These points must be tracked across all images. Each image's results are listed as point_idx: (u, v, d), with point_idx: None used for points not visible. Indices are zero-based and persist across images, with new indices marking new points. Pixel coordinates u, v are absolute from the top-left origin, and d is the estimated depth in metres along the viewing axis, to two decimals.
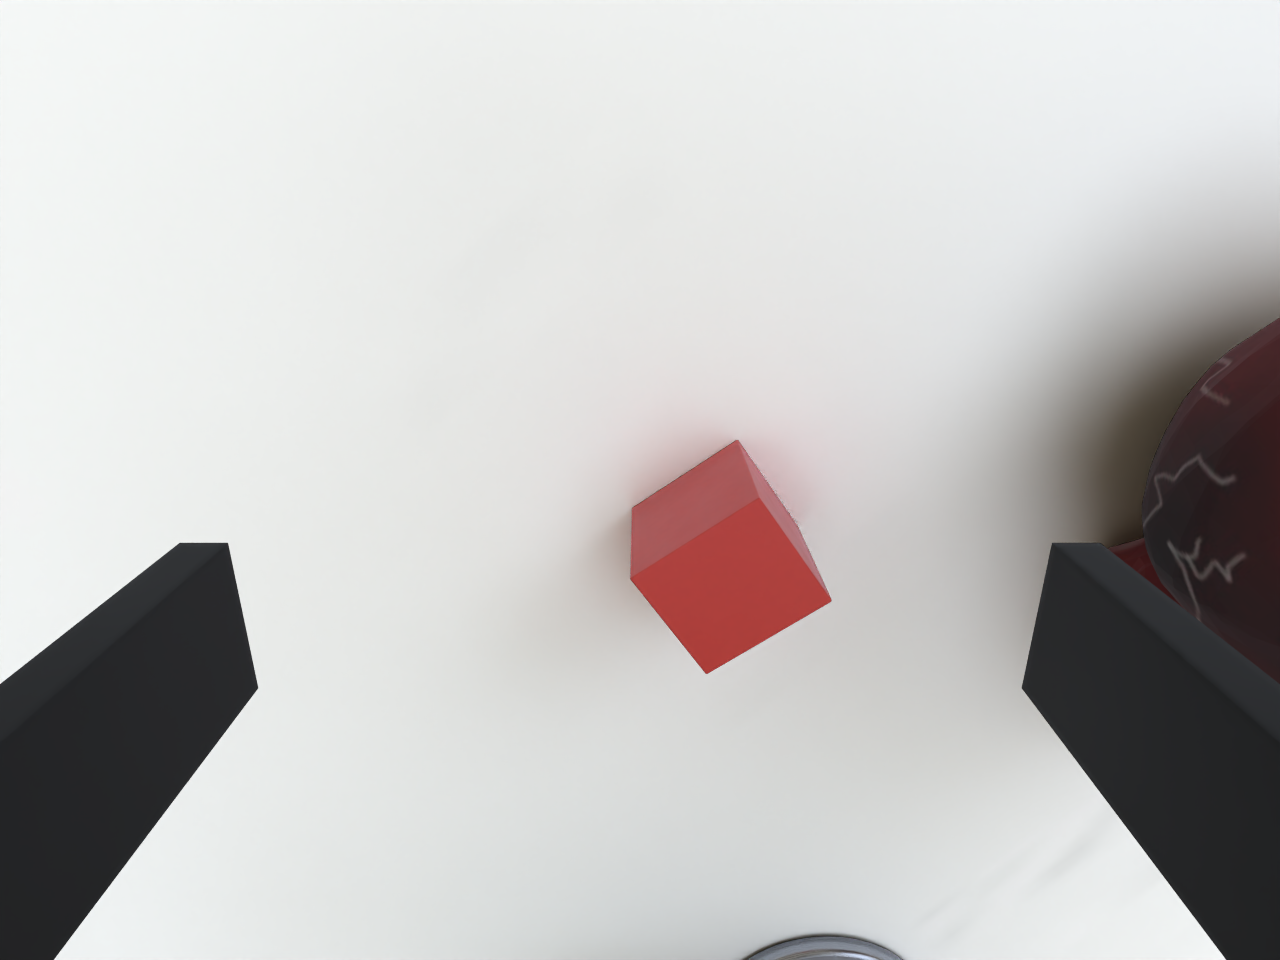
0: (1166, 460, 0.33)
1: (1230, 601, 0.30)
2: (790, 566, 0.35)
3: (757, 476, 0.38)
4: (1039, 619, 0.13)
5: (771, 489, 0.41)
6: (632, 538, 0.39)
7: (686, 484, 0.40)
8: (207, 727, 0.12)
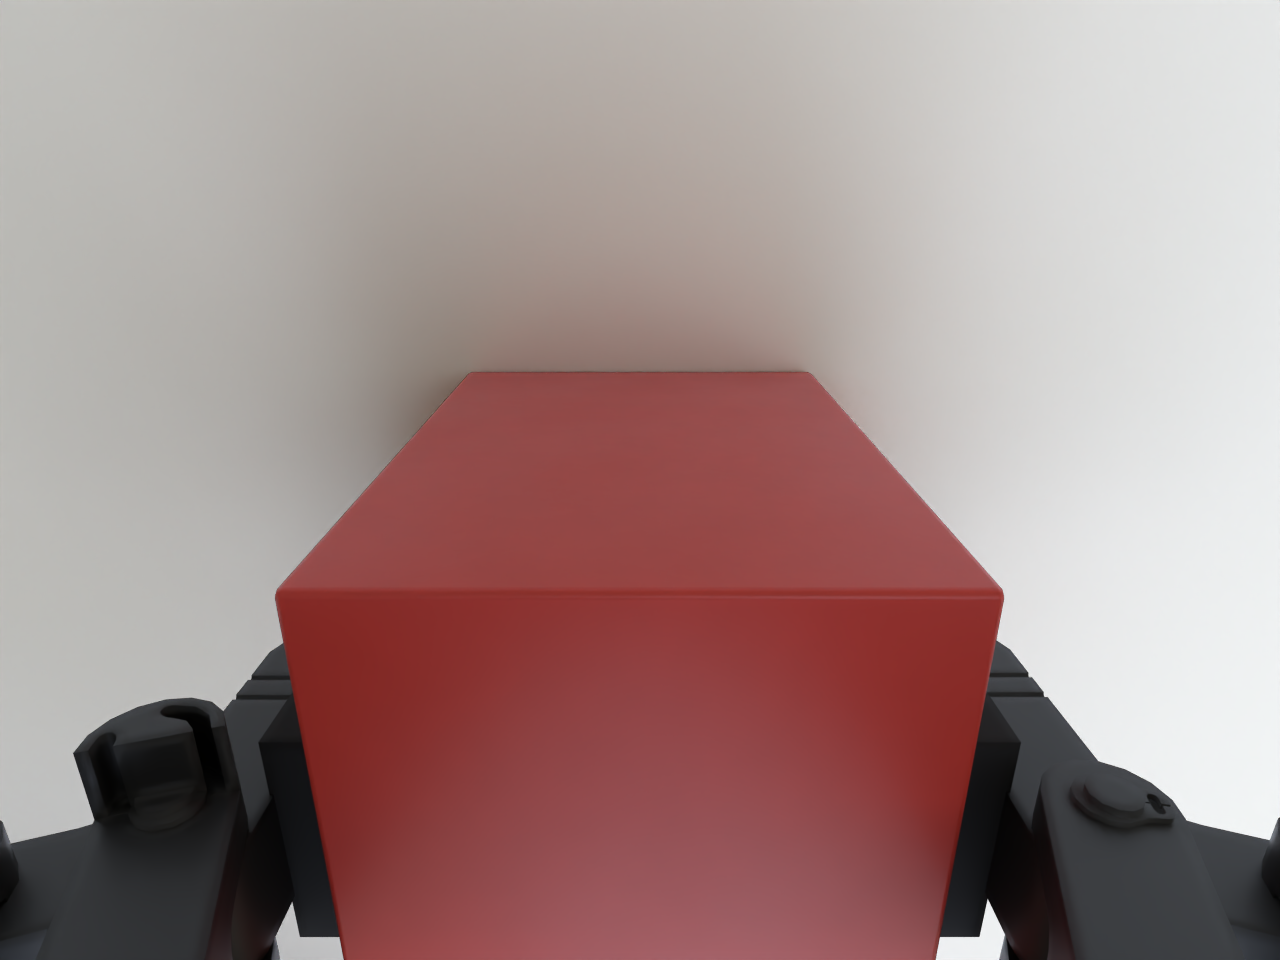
0: None
1: None
2: None
3: None
4: None
5: None
6: None
7: None
8: None
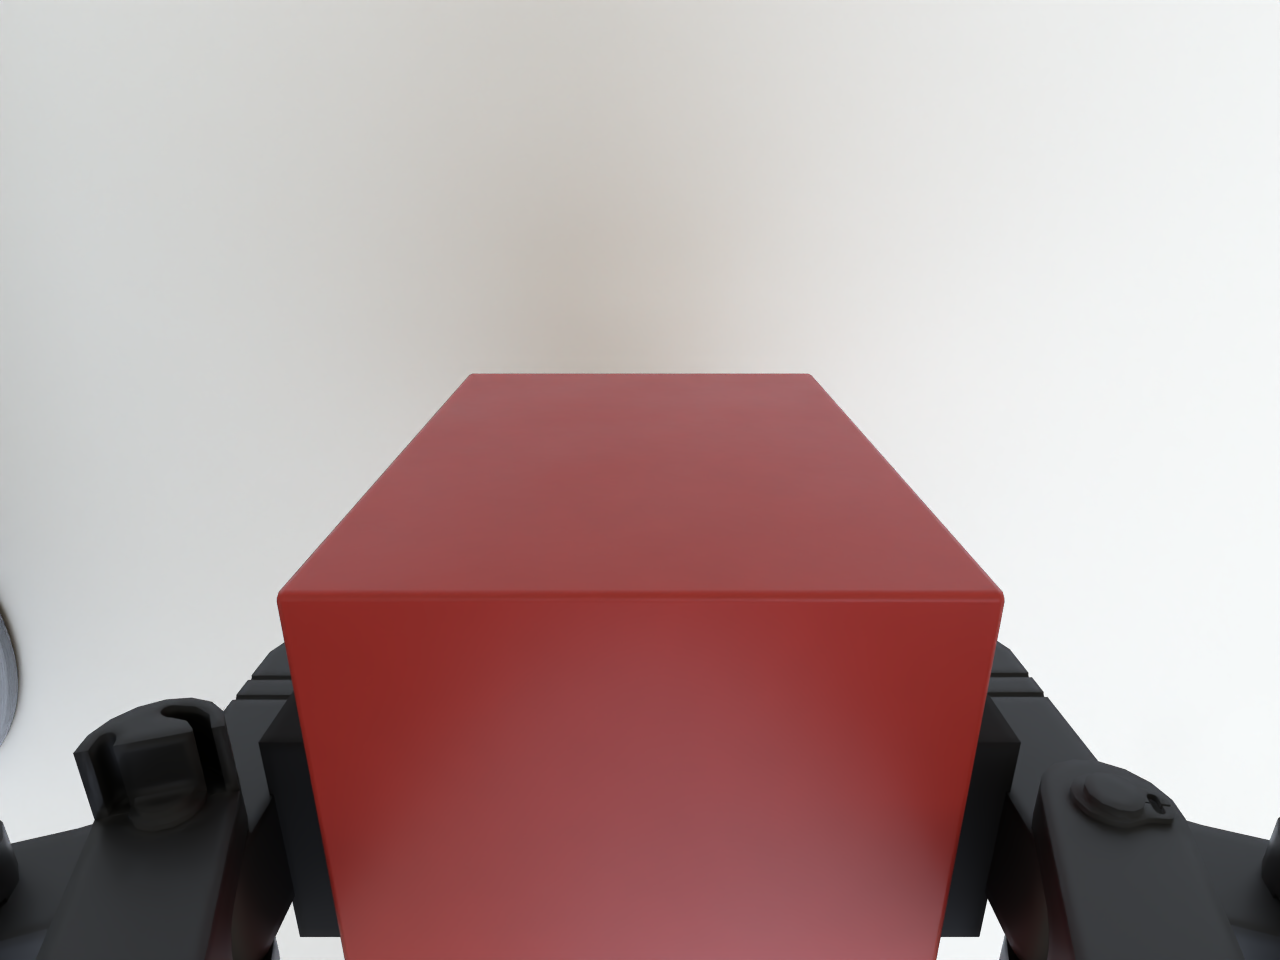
0: None
1: None
2: None
3: None
4: None
5: None
6: None
7: None
8: None
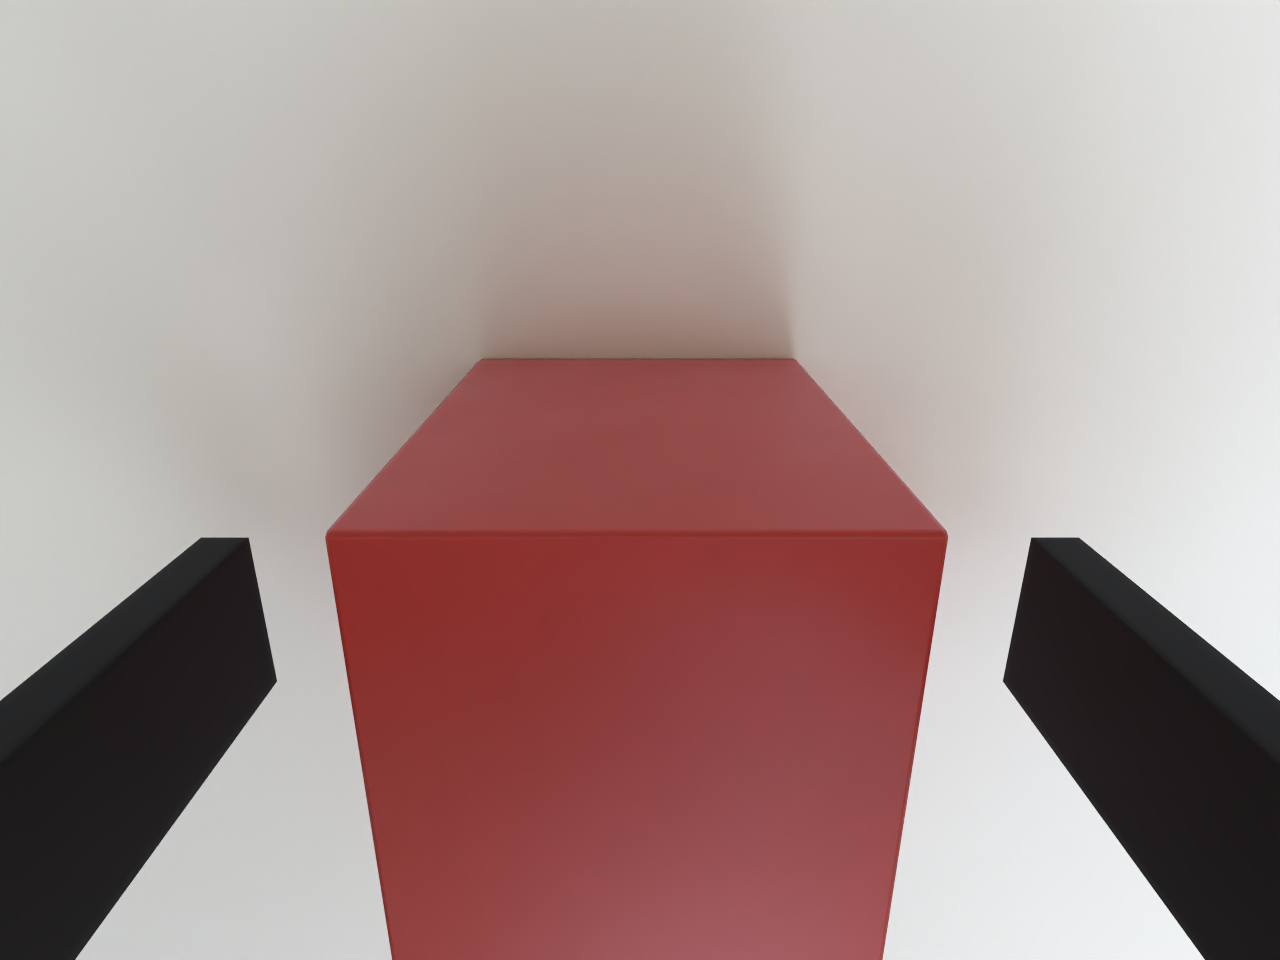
0: None
1: None
2: None
3: None
4: (1019, 613, 0.13)
5: None
6: None
7: None
8: (229, 719, 0.12)
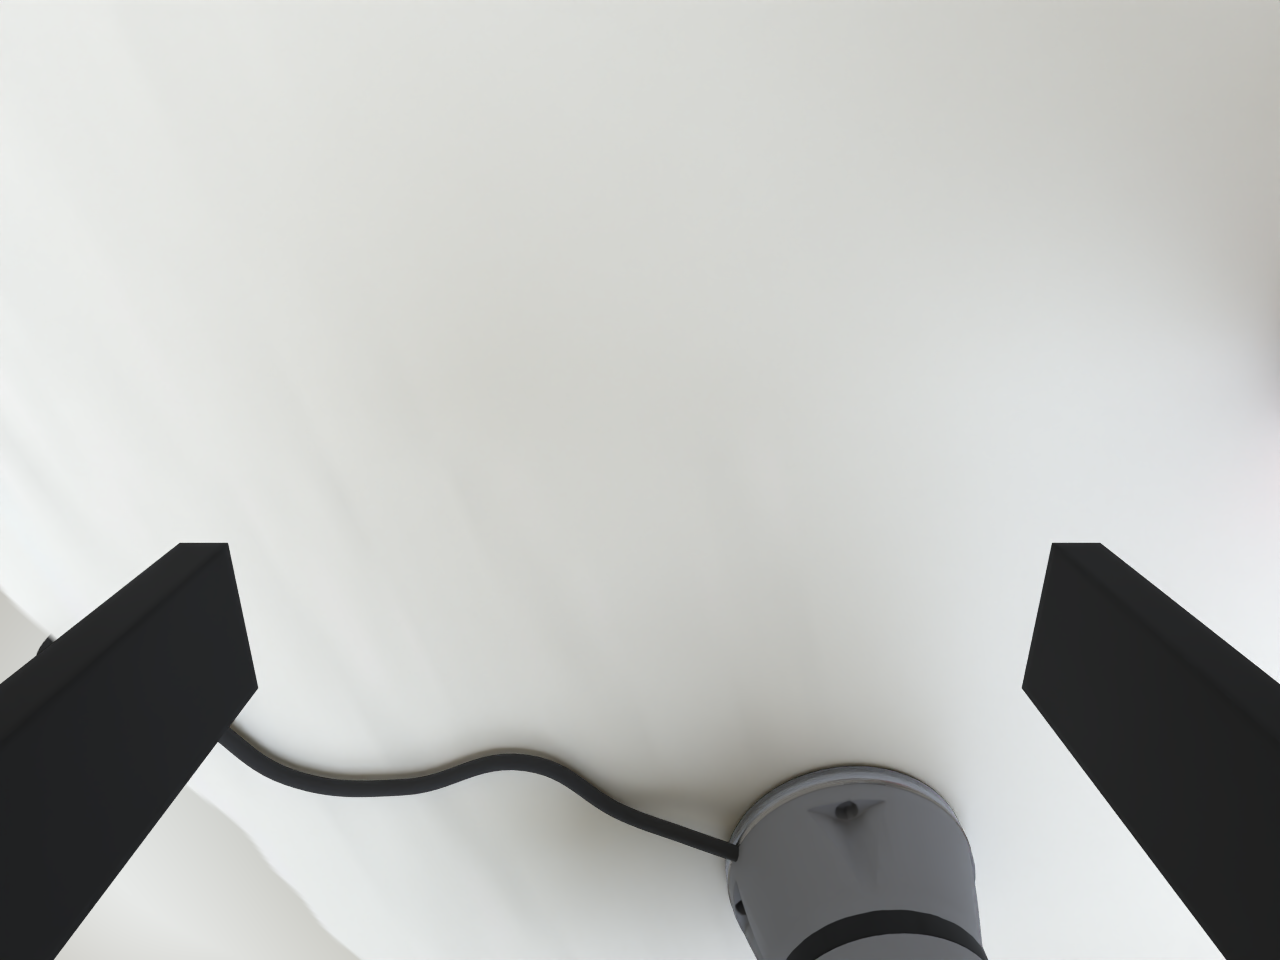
0: None
1: None
2: None
3: None
4: (1038, 619, 0.13)
5: None
6: None
7: None
8: (208, 727, 0.12)
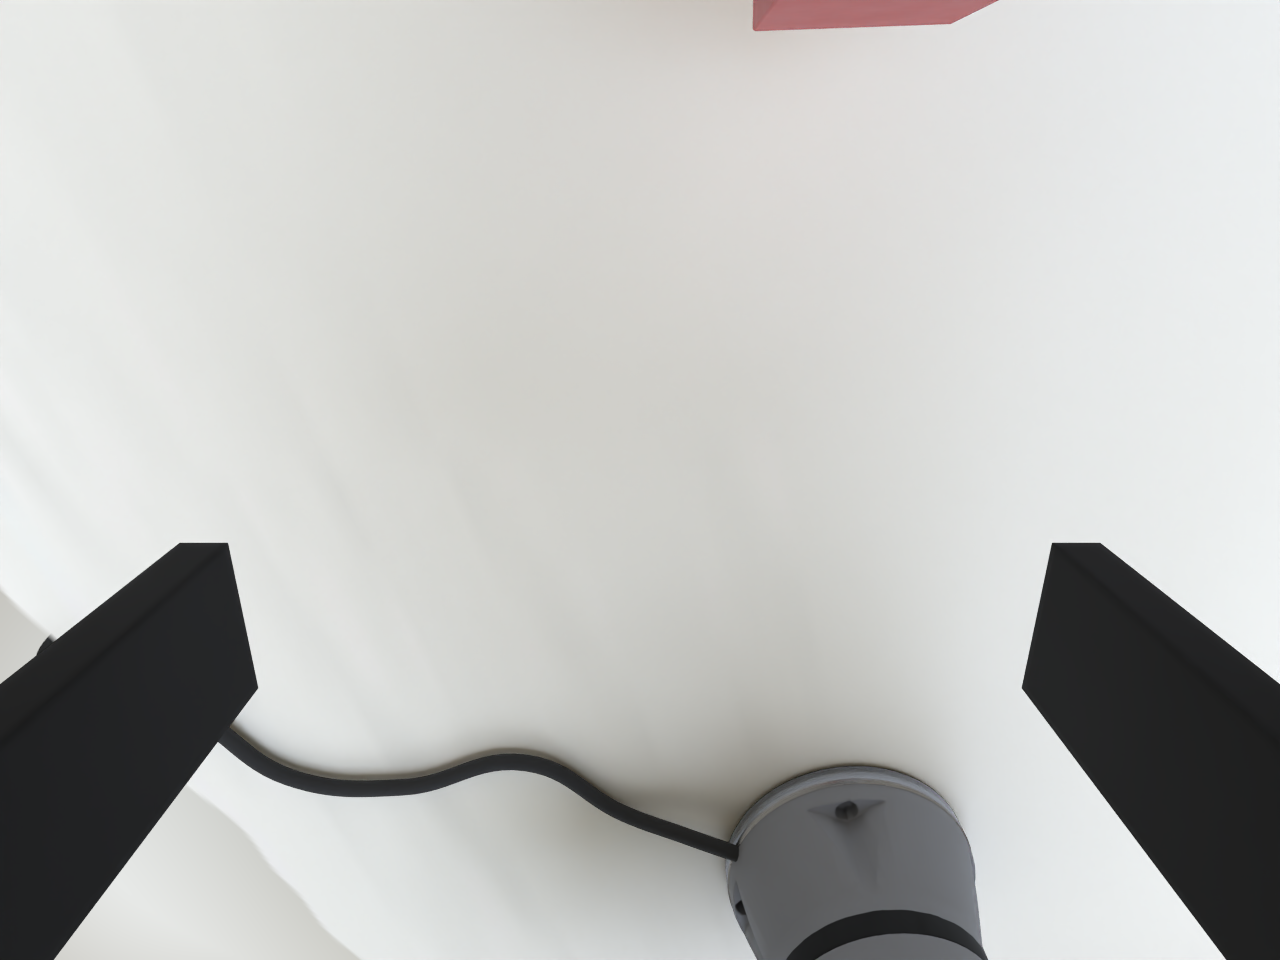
0: None
1: None
2: None
3: (949, 5, 0.21)
4: (1038, 619, 0.13)
5: (850, 25, 0.24)
6: None
7: None
8: (208, 727, 0.12)
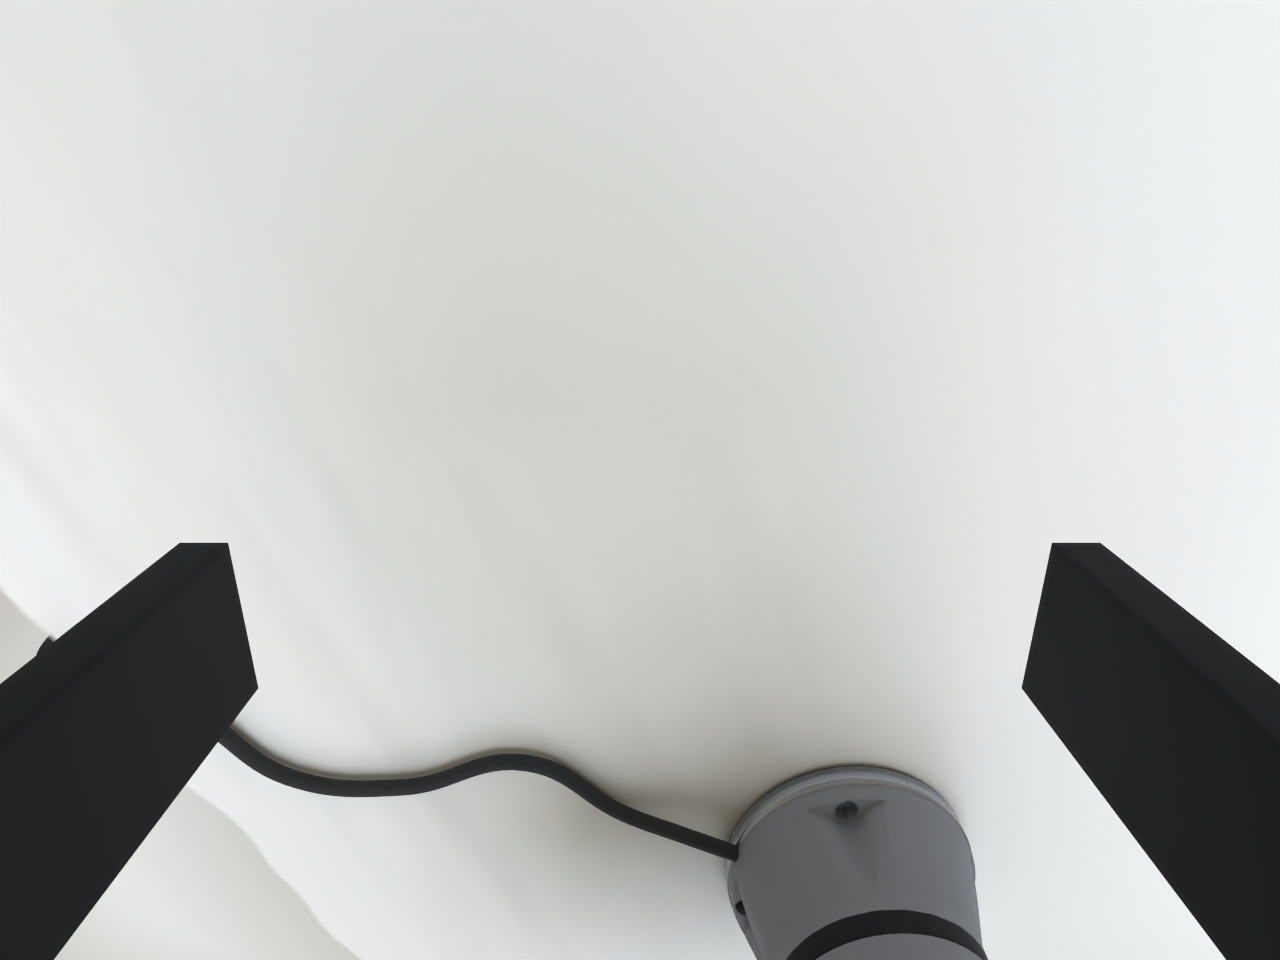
0: None
1: None
2: None
3: None
4: (1038, 619, 0.13)
5: None
6: None
7: None
8: (208, 727, 0.12)
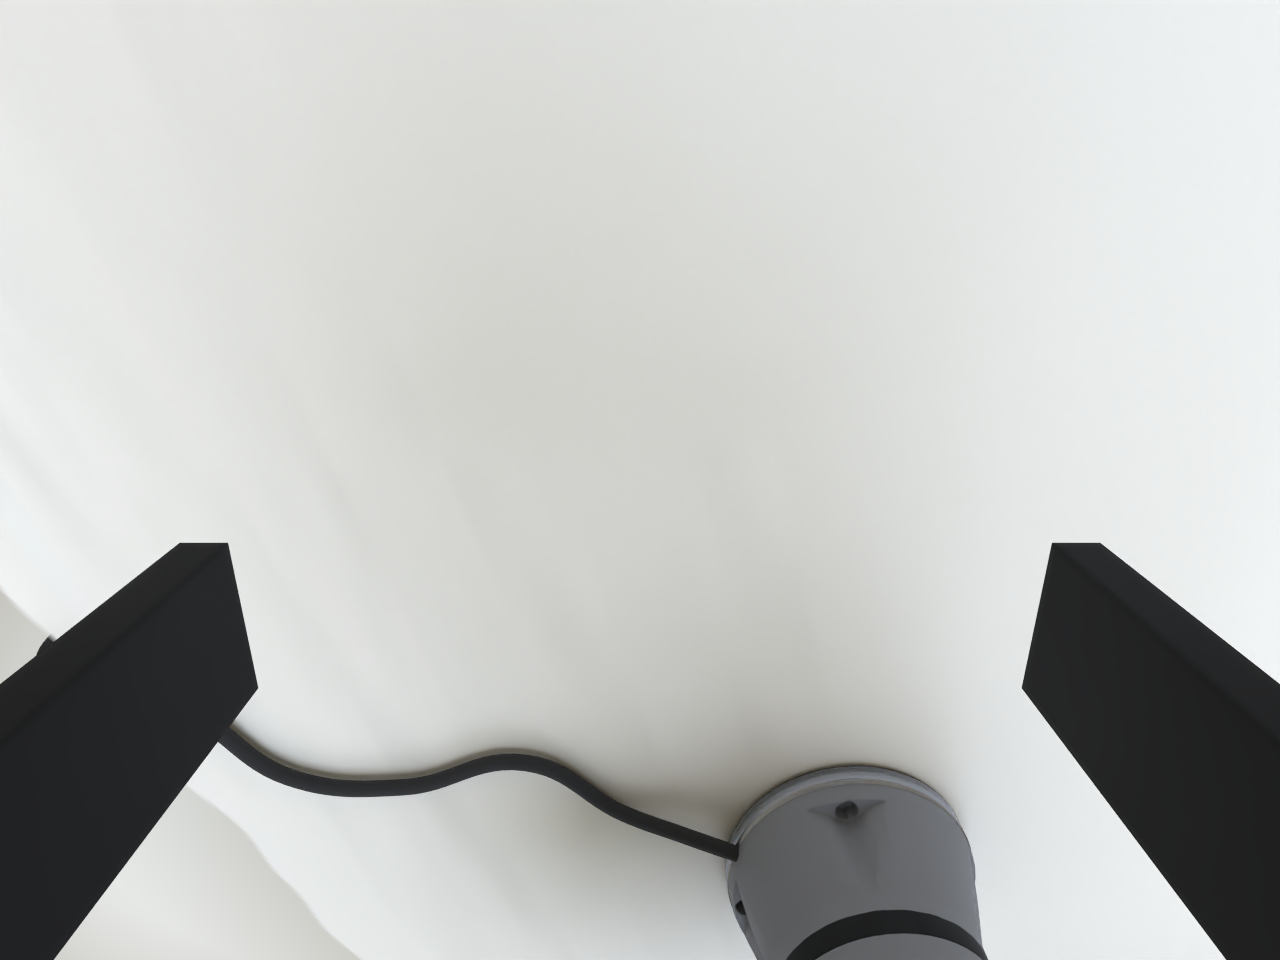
0: None
1: None
2: None
3: None
4: (1038, 619, 0.13)
5: None
6: None
7: None
8: (208, 727, 0.12)
